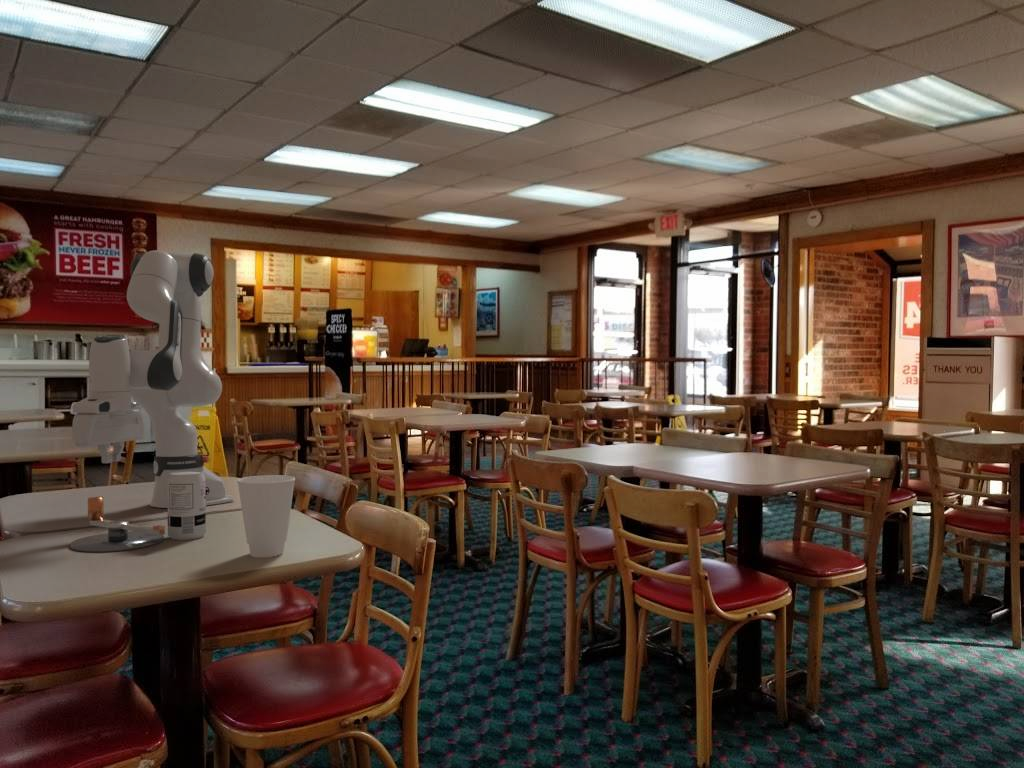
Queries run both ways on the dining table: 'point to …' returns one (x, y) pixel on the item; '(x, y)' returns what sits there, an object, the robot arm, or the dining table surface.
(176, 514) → the supplement can
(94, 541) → the dial plate
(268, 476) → the cup
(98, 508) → the crank
